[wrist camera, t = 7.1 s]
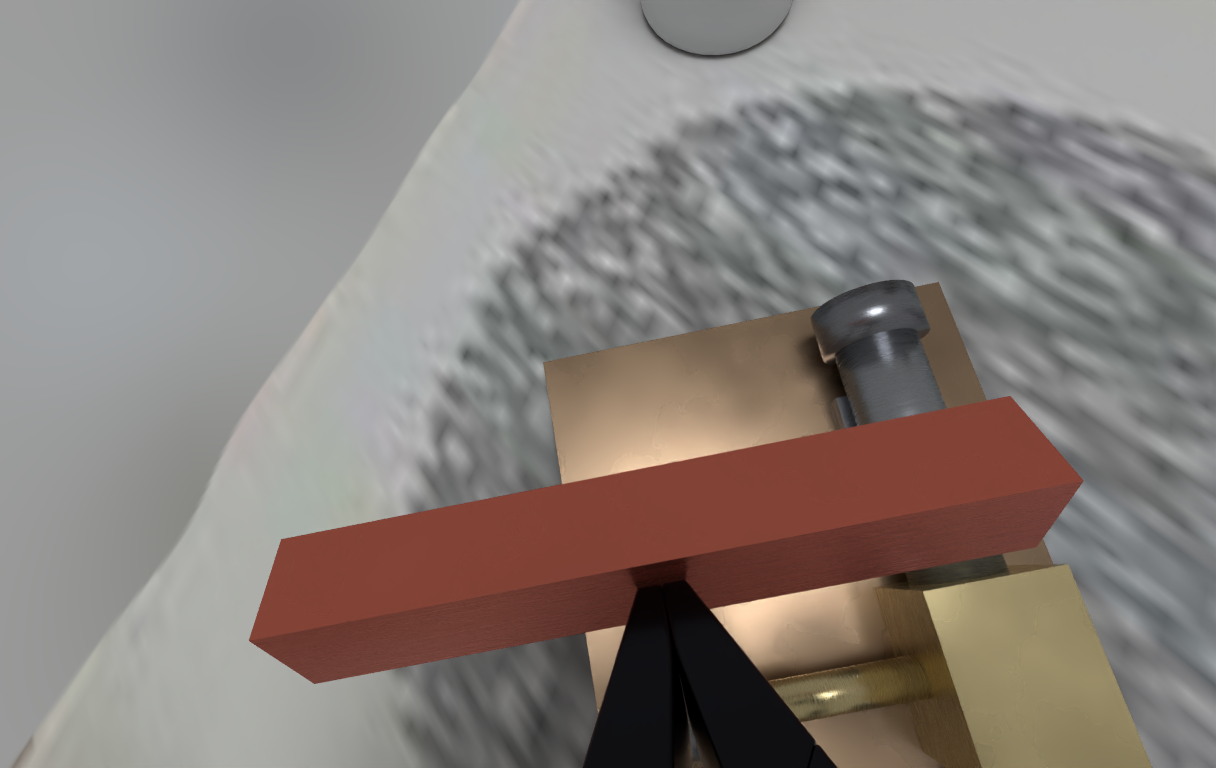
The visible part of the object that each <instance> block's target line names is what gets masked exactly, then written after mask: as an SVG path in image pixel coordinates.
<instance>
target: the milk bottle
mask: <svg viewBox="0 0 1216 768" xmlns="http://www.w3.org/2000/svg"><path fill="white" fill-rule="evenodd" d="M792 2H793V0H641V5H642V9H643V12H644V15H645V17H646V19H647V20H648V22H649V24H650V26H651V27H652V28H653V29H654V31H655V32H656V34H657V35H659V36H660V37H661V38H662V39H663V40H664V41H665V42H667V43H669V44H671V45H673V46H674V47H676V48H678V49H681V50H684V51H687V52H690V53H696V54H702V55H723V54H730V53H735V52H738V51H742V50H745V49H748V48H750V47H752V46H754V45H756V44H758V43H760V42H761V41H763V40H764V39H765V38H767V37H768V36H770V35H771V34H772V33H773V32H774V30H775V29H776V28H777V27H778V26H779V25H780V24H781V23H782V21H783V20H784V18H785V17H786V15H787V14H788V12H789V10H790V8H791V5H792Z"/></svg>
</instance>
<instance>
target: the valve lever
mask: <svg viewBox="0 0 1216 768" xmlns="http://www.w3.org/2000/svg"><path fill="white" fill-rule="evenodd" d="M1082 482H1083V479H1082V478H1081V477H1080V476H1079V475H1078V474H1077V472H1076V471H1075V470H1074V469H1073V468H1072V467H1071V466H1070V464H1069V463H1068V462H1067V461H1066V460H1065V459H1064V457H1063V456H1062V455H1061V454H1060V453H1059V452H1058V450H1057V449H1056V448H1055V447H1054V446H1053V445H1052V444H1051V442H1050V441H1049V440H1048V439H1047V438H1046V437H1045V435H1044V434H1043V433H1042V432H1041V431H1040V430H1039V429H1038V427H1037V426H1036V425H1035V424H1034V423H1033V422H1032V420H1031V419H1030V418H1029V417H1028V416H1027V415H1026V414H1025V412H1024V411H1023V410H1022V409H1021V408H1020V407H1019V405H1018V404H1017V403H1016V402H1015V401H1014V400H1013V399H1012V397H1011V396H1008V397H1003V398H998V399H993V400H988V401H983V402H977V403H972V404H967V405H962V406H957V407H952V408H947V409H942V410H937V411H932V412H927V413H921V414H916V415H911V416H906V417H901V418H896V419H891V420H886V421H881V422H876V423H871V424H866V425H860V426H855V427H850V428H845V429H840V430H835V431H830V432H825V433H820V434H815V435H810V436H804V437H799V438H794V439H789V440H784V441H779V442H774V443H769V444H764V445H759V446H754V447H749V448H743V449H738V450H733V451H728V452H723V453H718V454H713V455H708V456H703V457H698V458H693V459H688V460H682V461H677V462H672V463H667V464H662V465H657V466H652V467H647V468H642V469H637V470H632V471H626V472H621V473H616V474H611V475H606V476H601V477H596V478H591V479H586V480H581V481H576V482H571V483H565V484H560V485H555V486H550V487H545V488H540V489H535V490H530V491H525V492H520V493H515V494H510V495H504V496H499V497H494V498H489V499H484V500H479V501H474V502H469V503H464V504H459V505H454V506H448V507H443V508H438V509H433V510H428V511H423V512H418V513H413V514H408V515H403V516H398V517H393V518H387V519H382V520H377V521H372V522H367V523H362V524H357V525H352V526H347V527H342V528H337V529H331V530H326V531H321V532H316V533H311V534H306V535H301V536H296V537H291V538H286V539H281V542H280V545H279V548H278V551H277V554H276V557H275V561H274V564H273V567H272V570H271V573H270V576H269V579H268V582H267V586H266V589H265V592H264V595H263V598H262V601H261V604H260V607H259V611H258V614H257V617H256V620H255V623H254V626H253V629H252V632H251V636H250V639H249V641H250V642H251V643H253V644H254V645H256V646H257V647H259V648H260V649H262V650H264V651H265V652H267V653H268V654H270V655H271V656H273V657H274V658H276V659H277V660H279V661H280V662H282V663H283V664H285V665H286V666H288V667H290V668H291V669H293V670H294V671H296V672H297V673H299V674H300V675H302V676H303V677H305V678H306V679H308V680H309V681H311V682H312V683H314V684H316V683H322V682H327V681H332V680H337V679H343V678H348V677H353V676H359V675H364V674H369V673H375V672H380V671H385V670H390V669H396V668H401V667H406V666H412V665H417V664H422V663H427V662H433V661H438V660H443V659H449V658H454V657H459V656H464V655H470V654H475V653H480V652H486V651H491V650H496V649H502V648H507V647H512V646H517V645H523V644H528V643H533V642H539V641H544V640H549V639H554V638H560V637H565V636H570V635H576V634H581V633H586V632H591V631H597V630H602V629H607V628H613V627H618V626H623V625H626V623H627V620H628V617H629V613H630V610H631V607H632V604H633V600H634V597H635V594H636V592H637V590H638V589H640V588H644V587H649V586H655V585H659V586H661V587H663V585H664V584H666V583H670V582H676V581H681V580H685V581H687V582H688V583H689V584H690V585H691V587H692V588H693V589H694V590H695V591H696V593H697V594H698V595H699V596H700V598H701V599H702V600H703V601H704V603H705V604H706V605H707V606H708V608H709V609H713V608H718V607H724V606H729V605H734V604H740V603H745V602H750V601H755V600H761V599H766V598H771V597H777V596H782V595H787V594H793V593H798V592H803V591H808V590H814V589H819V588H824V587H830V586H835V585H840V584H845V583H851V582H856V581H861V580H867V579H872V578H877V577H882V576H888V575H893V574H898V573H904V572H909V571H914V570H920V569H925V568H930V567H935V566H941V565H946V564H951V563H957V562H962V561H967V560H972V559H978V558H983V557H988V556H994V555H999V554H1004V553H1009V552H1015V551H1020V550H1025V549H1031V548H1036V547H1037V546H1038V544H1039V543H1040V542H1041V540H1042V539H1043V537H1044V536H1045V535H1046V533H1047V532H1048V530H1049V529H1050V528H1051V526H1052V525H1053V523H1054V522H1055V520H1056V519H1057V518H1058V516H1059V515H1060V513H1061V512H1062V511H1063V509H1064V508H1065V506H1066V505H1067V504H1068V502H1069V501H1070V499H1071V498H1072V497H1073V495H1074V494H1075V492H1076V491H1077V489H1078V488H1079V487H1080V485H1081V484H1082ZM662 590H663V588H662ZM663 595H664V594H663ZM664 600H665V599H664ZM665 605H666V604H665ZM679 675H680V674H679ZM680 680H681V679H680ZM681 685H682V684H681ZM682 690H683V689H682ZM683 695H684V694H683ZM684 700H685V699H684ZM685 705H686V703H685ZM686 710H687V708H686ZM687 716H688V713H687ZM688 722H689V731H690V740H691V752H692V763H693V762H698V761H701V758H700V755H699V752H698V749H697V745H696V742H695V739H694V736H693V732H692V729H691V725H690V721H689V717H688Z"/></svg>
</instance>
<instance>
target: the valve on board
mask: <svg viewBox="0 0 1216 768" xmlns="http://www.w3.org/2000/svg"><path fill="white" fill-rule="evenodd" d="M543 364H544V370H545V377H546V383H547V390H548V396H549V402H550V409H551V415H552V422H553V428H554V434H555V441H556V447H557V454H558V460H559V467H560V473H561V479H562V484H565V483H571V482H576V481H581V480H586V479H591V478H596V477H601V476H606V475H611V474H616V473H621V472H626V471H632V470H637V469H642V468H647V467H652V466H657V465H662V464H667V463H672V462H677V461H682V460H688V459H693V458H698V457H703V456H708V455H713V454H718V453H723V452H728V451H733V450H738V449H743V448H749V447H754V446H759V445H764V444H769V443H774V442H779V441H784V440H789V439H794V438H799V437H804V436H810V435H815V434H820V433H825V432H830V431H835V430H840V429H845V428H850V427H855V426H860V425H866V424H871V423H876V422H881V421H886V420H891V419H896V418H901V417H906V416H911V415H916V414H921V413H927V412H932V411H937V410H942V409H947V408H952V407H957V406H962V405H967V404H972V403H977V402H983V401H987V400H986V398H985V395H984V393H983V390H982V388H981V385H980V383H979V380H978V378H977V375H976V373H975V370H974V368H973V366H972V363H971V361H970V358H969V356H968V353H967V351H966V348H965V346H964V343H963V341H962V339H961V336H960V334H959V331H958V329H957V326H956V324H955V321H954V319H953V316H952V314H951V311H950V309H949V307H948V304H947V302H946V299H945V297H944V294H943V292H942V289H941V287H940V284H939V282H937V283H932V284H927V285H922V286H917V287H914V285H913V283H911V282H909V281H905V280H889V281H882V282H877V283H872V284H869V285H865V286H862V287H859V288H856V289H853V290H850V291H848V292H845V293H843V294H841V295H839V296H837V297H835V298H833V299H831V300H829V301H828V302H826V303H825V304H823V305H822V306H819V307H814V308H809V309H804V310H799V311H794V312H789V313H784V314H779V315H774V316H769V317H764V318H760V319H755V320H750V321H745V322H740V323H735V324H730V325H725V326H720V327H715V328H710V329H705V330H700V331H695V332H690V333H686V334H681V335H676V336H671V337H666V338H661V339H656V340H651V341H646V342H641V343H636V344H631V345H626V346H621V347H617V348H612V349H607V350H602V351H597V352H592V353H587V354H582V355H577V356H572V357H567V358H562V359H557V360H552V361H548V362H543ZM710 610H711V611H712V613H713V614H714V615H715V616H716V618H717V619H718V620H719V621H720V622H721V624H722V625H723V626H724V627H725V629H726V630H727V631H728V632H729V634H730V635H731V636H732V637H733V639H734V640H735V641H736V642H737V644H738V645H739V646H740V647H741V649H742V650H743V651H744V652H745V654H746V655H747V656H748V657H749V658H750V660H751V661H752V662H753V663H754V665H755V666H756V667H757V668H758V670H759V671H760V672H761V673H762V675H763V676H764V677H765V678H766V680H767V681H768V682H769V683H770V685H771V686H772V687H773V688H774V689H775V691H776V692H777V693H778V694H779V696H780V697H781V698H782V699H783V701H784V702H785V703H786V704H787V706H788V707H789V708H790V709H791V711H792V712H793V713H794V714H795V716H796V717H797V718H798V719H799V721H800V722H801V723H802V724H803V725H804V727H805V728H806V729H807V730H808V732H809V733H810V734H811V735H812V737H813V738H814V739H815V741H816V745H820V746H821V747H822V749H823V750H824V751H825V752H826V754H827V755H828V756H829V757H830V759H831V760H832V761H833V762H834V764H835V765H836V766H837V767H838V768H1152V766H1151V763H1150V761H1149V758H1148V756H1147V754H1146V751H1145V749H1144V746H1143V744H1142V742H1141V739H1140V737H1139V734H1138V732H1137V729H1136V727H1135V725H1134V722H1133V720H1132V717H1131V715H1130V713H1129V710H1128V708H1127V705H1126V703H1125V700H1124V698H1123V696H1122V693H1121V691H1120V688H1119V686H1118V684H1117V681H1116V679H1115V676H1114V674H1113V672H1112V669H1111V667H1110V664H1109V662H1108V659H1107V657H1106V655H1105V652H1104V650H1103V647H1102V645H1101V643H1100V640H1099V638H1098V635H1097V633H1096V630H1095V628H1094V626H1093V623H1092V621H1091V618H1090V616H1089V614H1088V611H1087V609H1086V606H1085V604H1084V602H1083V599H1082V597H1081V594H1080V592H1079V589H1078V587H1077V585H1076V582H1075V580H1074V577H1073V575H1072V573H1071V570H1070V568H1069V565H1068V564H1053V562H1052V560H1051V557H1050V555H1049V553H1048V550H1047V548H1046V545H1045V543H1044V540H1043V539H1042V540H1041V542H1040V543H1039V544H1038V546H1037V547H1036V548H1031V549H1025V550H1020V551H1015V552H1009V553H1004V554H999V555H994V556H988V557H983V558H978V559H972V560H967V561H962V562H957V563H951V564H946V565H941V566H935V567H930V568H925V569H920V570H914V571H909V572H904V573H898V574H893V575H888V576H882V577H877V578H872V579H867V580H861V581H856V582H851V583H845V584H840V585H835V586H830V587H824V588H819V589H814V590H808V591H803V592H798V593H793V594H787V595H782V596H777V597H771V598H766V599H761V600H755V601H750V602H745V603H740V604H734V605H729V606H724V607H718V608H713V609H710ZM625 626H626V625H623V626H618V627H613V628H607V629H602V630H597V631H591V632H586V640H587V646H588V653H589V659H590V665H591V672H592V678H593V685H594V691H595V697H596V704H597V710H598V714H599V711H600V708H601V705H602V701H603V698H604V695H605V692H606V688H607V685H608V682H609V679H610V675H611V672H612V669H613V666H614V662H615V659H616V656H617V653H618V649H619V646H620V643H621V639H622V636H623V633H624V630H625ZM692 764H693V768H704V767H703V764H702V761H698V762H693V763H692Z"/></svg>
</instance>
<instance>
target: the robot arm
mask: <svg viewBox="0 0 1216 768" xmlns="http://www.w3.org/2000/svg"><path fill="white" fill-rule="evenodd" d="M662 588H663V590H662ZM663 594H664V595H663ZM664 599H665V600H664ZM665 604H666V605H665ZM679 674H680V675H679ZM680 679H681V680H680ZM681 684H682V685H681ZM682 689H683V690H682ZM683 694H684V695H683ZM684 699H685V700H684ZM685 703H686V705H685ZM686 708H687V710H686ZM687 713H688V716H687ZM688 717H689V721H690V725H691V729H692V732H693V736H694V739H695V742H696V745H697V749H698V752H699V755H700V758H701V761H702V764H703V767H704V768H838V767H837V766H836V765H835V764H834V762H833V761H832V760H831V759H830V757H829V756H828V755H827V754H826V752H825V751H824V750H823V749H822V747H821V746H820V745H816V741H815V739H814V738H813V737H812V735H811V734H810V733H809V732H808V730H807V729H806V728H805V727H804V725H803V724H802V723H801V722H800V721H799V719H798V718H797V717H796V716H795V714H794V713H793V712H792V711H791V709H790V708H789V707H788V706H787V704H786V703H785V702H784V701H783V699H782V698H781V697H780V696H779V694H778V693H777V692H776V691H775V689H774V688H773V687H772V686H771V685H770V683H769V682H768V681H767V680H766V678H765V677H764V676H763V675H762V673H761V672H760V671H759V670H758V668H757V667H756V666H755V665H754V663H753V662H752V661H751V660H750V658H749V657H748V656H747V655H746V654H745V652H744V651H743V650H742V649H741V647H740V646H739V645H738V644H737V642H736V641H735V640H734V639H733V637H732V636H731V635H730V634H729V632H728V631H727V630H726V629H725V627H724V626H723V625H722V624H721V622H720V621H719V620H718V619H717V618H716V616H715V615H714V614H713V613H712V611H711V610H710V609H709V608H708V606H707V605H706V604H705V603H704V601H703V600H702V599H701V598H700V596H699V595H698V594H697V593H696V591H695V590H694V589H693V588H692V587H691V585H690V584H689V583H688V582H687V581H685V580H681V581H676V582H670V583H666V584H664V585H663V587H661V586H659V585H655V586H649V587H644V588H640V589H638V590H637V592H636V594H635V597H634V600H633V604H632V607H631V610H630V613H629V617H628V620H627V623H626V626H625V630H624V633H623V636H622V639H621V643H620V646H619V649H618V653H617V656H616V659H615V662H614V666H613V669H612V672H611V675H610V679H609V682H608V685H607V688H606V692H605V695H604V698H603V701H602V705H601V708H600V711H599V714H598V718H597V721H596V724H595V727H594V731H593V734H592V737H591V740H590V744H589V747H588V750H587V754H586V757H585V760H584V763H583V767H582V768H693V764H692V752H691V740H690V731H689V722H688Z"/></svg>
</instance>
